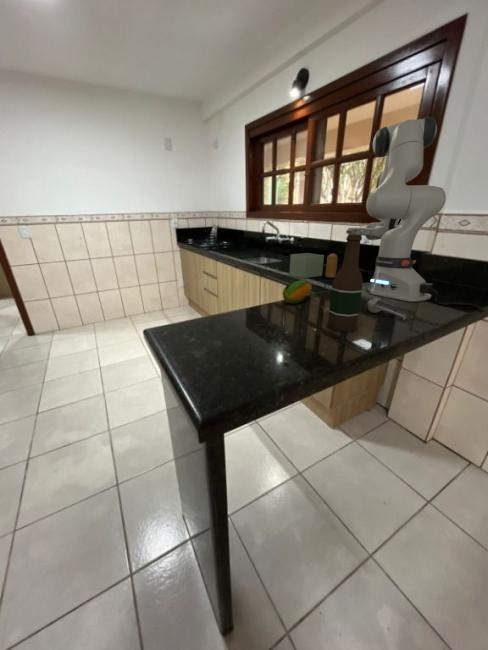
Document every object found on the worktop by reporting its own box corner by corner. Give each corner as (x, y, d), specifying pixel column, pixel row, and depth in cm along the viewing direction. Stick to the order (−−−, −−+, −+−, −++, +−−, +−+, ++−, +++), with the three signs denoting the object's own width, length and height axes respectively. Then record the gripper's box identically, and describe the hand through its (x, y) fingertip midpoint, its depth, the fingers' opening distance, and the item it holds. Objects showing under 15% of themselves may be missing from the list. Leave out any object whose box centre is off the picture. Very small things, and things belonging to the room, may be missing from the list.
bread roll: (337, 276, 139) (340, 253, 135) (330, 277, 137) (333, 254, 132) (330, 275, 143) (332, 252, 139) (323, 276, 141) (325, 253, 137)
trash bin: (322, 275, 141) (324, 255, 137) (304, 278, 136) (305, 256, 132) (306, 272, 152) (308, 253, 148) (289, 274, 146) (290, 254, 142)
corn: (278, 283, 88) (301, 274, 104) (276, 304, 91) (299, 292, 107) (298, 287, 85) (319, 277, 100) (295, 309, 88) (316, 296, 103)
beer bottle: (323, 322, 76) (333, 234, 67) (350, 322, 75) (364, 234, 67) (331, 332, 68) (343, 235, 60) (361, 332, 68) (378, 235, 59)
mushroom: (404, 309, 74) (366, 294, 82) (396, 324, 75) (359, 308, 84) (413, 310, 78) (376, 296, 87) (406, 324, 80) (370, 309, 88)
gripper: (359, 224, 149) (340, 225, 144) (390, 225, 131) (370, 225, 126) (357, 236, 151) (339, 237, 146) (388, 238, 134) (368, 239, 129)
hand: (353, 232), depth 136 cm, fingers open, 8 cm apart
